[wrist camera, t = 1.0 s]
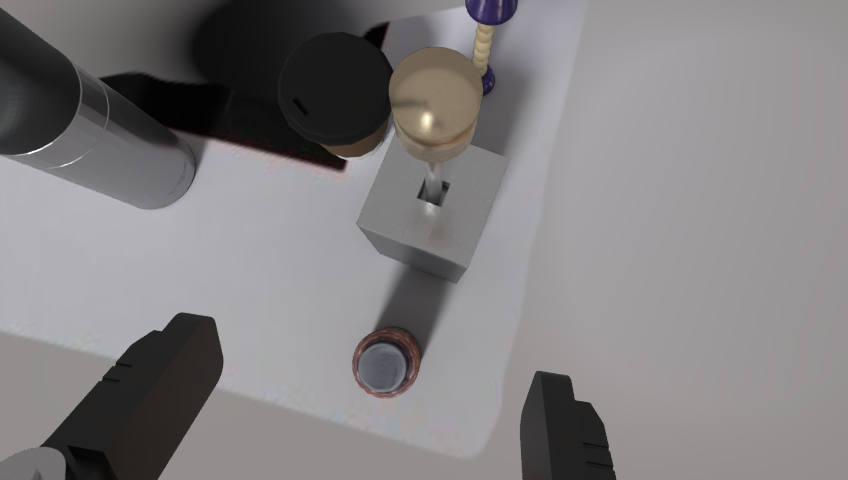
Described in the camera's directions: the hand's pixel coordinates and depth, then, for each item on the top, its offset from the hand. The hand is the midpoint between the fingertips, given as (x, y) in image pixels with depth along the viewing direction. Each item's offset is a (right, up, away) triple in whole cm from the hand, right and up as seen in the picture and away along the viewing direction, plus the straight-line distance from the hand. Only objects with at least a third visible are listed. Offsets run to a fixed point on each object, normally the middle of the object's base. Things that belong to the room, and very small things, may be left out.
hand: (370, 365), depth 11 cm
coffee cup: (-6, +15, +41) cm, 44 cm away
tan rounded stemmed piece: (+2, +6, +26) cm, 26 cm away
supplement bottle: (-2, -9, +37) cm, 38 cm away
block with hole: (+2, +4, +39) cm, 39 cm away
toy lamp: (+8, +22, +42) cm, 48 cm away
